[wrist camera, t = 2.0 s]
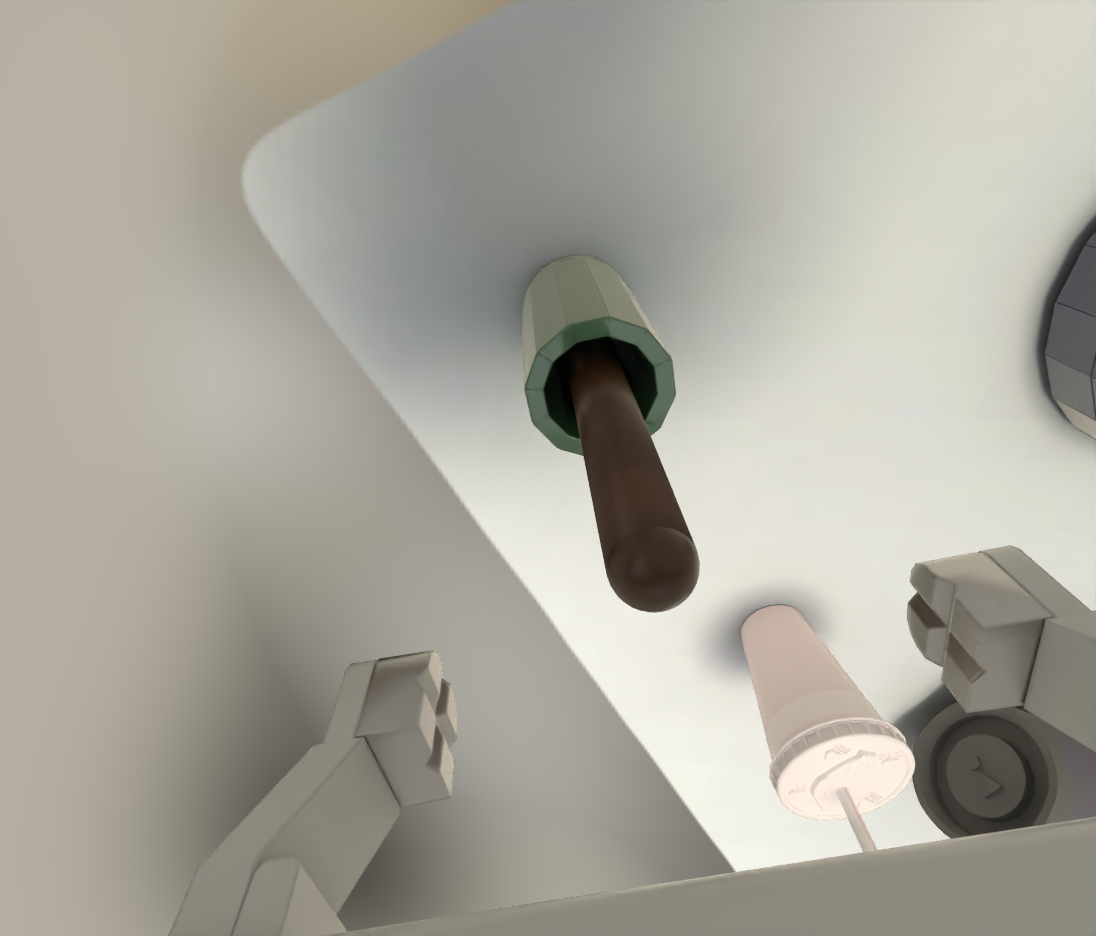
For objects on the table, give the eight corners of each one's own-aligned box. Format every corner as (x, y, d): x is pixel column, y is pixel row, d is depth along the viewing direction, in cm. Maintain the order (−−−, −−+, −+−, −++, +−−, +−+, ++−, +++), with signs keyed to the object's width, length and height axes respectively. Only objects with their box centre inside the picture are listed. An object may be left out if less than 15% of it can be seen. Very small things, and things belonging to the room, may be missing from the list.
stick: (552, 297, 27) (604, 566, 11) (595, 288, 27) (707, 548, 11) (560, 338, 28) (619, 640, 12) (601, 329, 27) (713, 623, 12)
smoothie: (701, 659, 38) (787, 915, 26) (743, 577, 35) (862, 825, 23) (797, 674, 40) (923, 928, 27) (846, 596, 37) (1011, 843, 24)
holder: (512, 267, 27) (511, 336, 19) (621, 244, 26) (666, 304, 19) (535, 369, 29) (542, 469, 21) (635, 349, 29) (681, 442, 21)
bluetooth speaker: (871, 738, 43) (961, 899, 34) (980, 650, 39) (1112, 805, 31) (1080, 827, 50) (1200, 981, 41) (1190, 758, 46) (1349, 912, 37)
